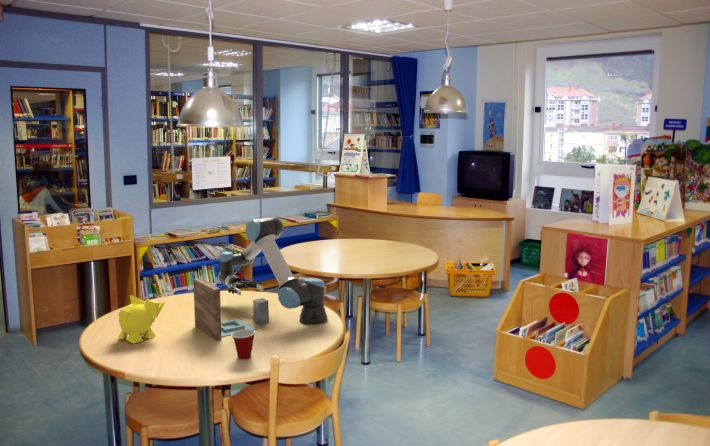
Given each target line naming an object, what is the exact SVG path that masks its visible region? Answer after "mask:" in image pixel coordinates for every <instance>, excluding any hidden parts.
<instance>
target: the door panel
mask: <svg viewBox="0 0 710 446" xmlns="http://www.w3.org/2000/svg"><path fill="white" fill-rule="evenodd" d="M192 281H193V305H194V327H195V328H197V329H198V330H199V331H201V332H202V333H204V334H205V335H207V336H208V337H210V338H211V339H213V340H214V341H222V338H223V337H221V322H222V313H221V311H222V309H221V307H222V306H221V304H222V303H221V288H219V287H218V286H216V285H214V284H212V283H210V282H208V281H206V280H204V279H202V278H200V277H196V278H193V279H192Z"/></svg>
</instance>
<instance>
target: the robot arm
mask: <svg viewBox="0 0 710 446" xmlns="http://www.w3.org/2000/svg"><path fill="white" fill-rule="evenodd" d="M283 232H284V224H283V222H282V220H281V219H280V218H279V217H276V216H268V217H267V216H266V217H260V218H254V219H250V220H249V221H248V222H247V223H246V226H245V236H246V238H247V240H248V241H250V242H251V243H249V245H248V246H246V248H245V249H244V250H242V251H241V252H238V253H234V252H232V251H222V252H221V253H220V256H219V259H220V261H219V262H220V263H219V264H220V271H219V273H218V275H217V279H218V281H219V283H220V284H222V285H225V286H226V287H227V289H228V292H227V293H228V294H232V295H234V294H236V295H238V296H242V290H241V289H248V288H250V289H256V290H257V291H260V292H264V286H263V285H262V282H257V281H251V280H247V281H244V280H243V279H242V278H241V277H239V276H238V275H236V274H234V268H236V267H242V266H247V265H248V266H249V265H250V264H253V263H254V262H255V259H256V257H257V256H258V255H259V254H260V253H261V252H262V254H263V255H264V257H265V259H266V262H267V263H268V265H269V267H270V269H271V271H272V273H273V275H274V277H275V279H276V281H277V283H278V284H279V285H278V288H277V289H278V292H277V298H278V301H279V303H280V304H281V306H282V307H284V308H286V309H289V310H291V309H296V308H299V307H302V308H301V312H300V315H299V322H301V323H302V324H306V325H320V324H324V323H326V322H327V321H328V314H327V312H326V311H327V310H326V307H325V281H324V280H323V279H320V278H316V277H304V278H303V279H302V281H300V279H299V278H298V277H296V276H294V274H293V273H292V271H291V269H290V267H289V265H288V263H287V262H286V259H285V257H284V256H283V254H282V252H281V250H280V248H279V246H278V243H276V240H278V239H279V238H280V237H281V236H282V234H283Z"/></svg>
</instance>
